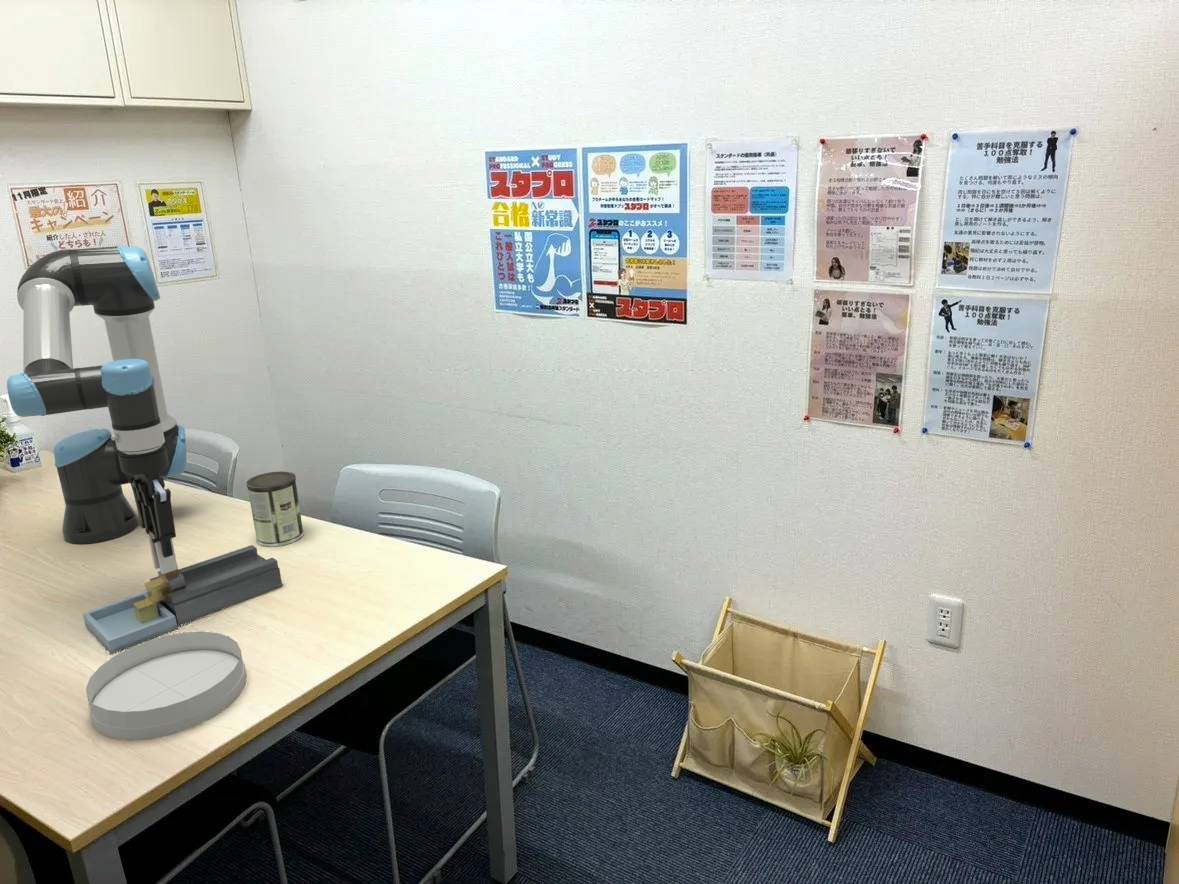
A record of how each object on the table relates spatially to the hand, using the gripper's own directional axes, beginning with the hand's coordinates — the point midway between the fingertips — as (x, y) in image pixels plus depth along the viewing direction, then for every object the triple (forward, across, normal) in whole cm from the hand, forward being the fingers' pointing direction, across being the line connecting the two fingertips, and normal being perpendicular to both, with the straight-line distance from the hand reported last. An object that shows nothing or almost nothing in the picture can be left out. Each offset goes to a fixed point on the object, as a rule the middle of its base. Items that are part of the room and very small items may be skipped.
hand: (166, 568), depth 151 cm
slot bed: (+9, 0, +8) cm, 12 cm away
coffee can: (+9, -17, +30) cm, 35 cm away
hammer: (+4, 0, +1) cm, 4 cm away
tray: (+9, 0, -8) cm, 12 cm away
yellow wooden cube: (+7, 0, -3) cm, 7 cm away
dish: (+10, +27, -11) cm, 31 cm away
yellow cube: (+5, 0, -2) cm, 5 cm away
